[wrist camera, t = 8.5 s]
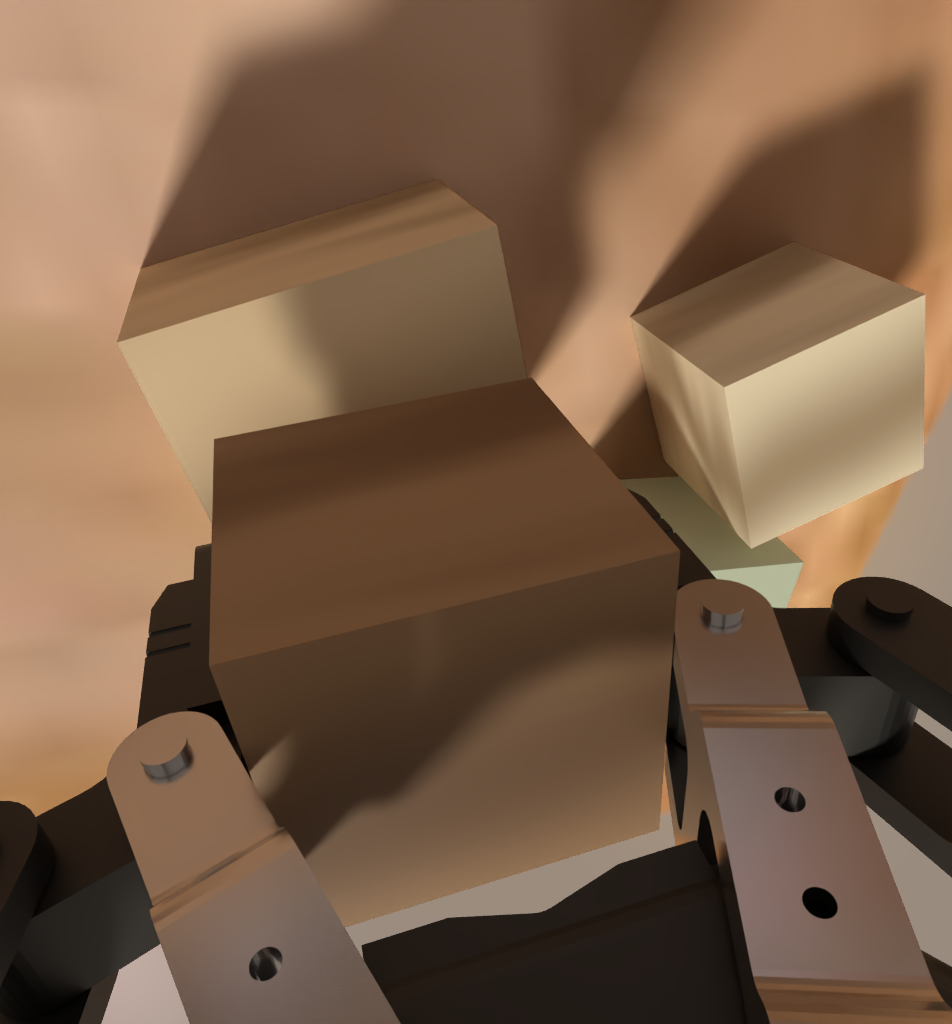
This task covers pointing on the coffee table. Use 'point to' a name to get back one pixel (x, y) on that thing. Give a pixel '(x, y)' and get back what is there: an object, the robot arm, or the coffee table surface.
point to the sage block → (721, 540)
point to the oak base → (322, 321)
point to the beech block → (787, 387)
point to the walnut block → (440, 642)
